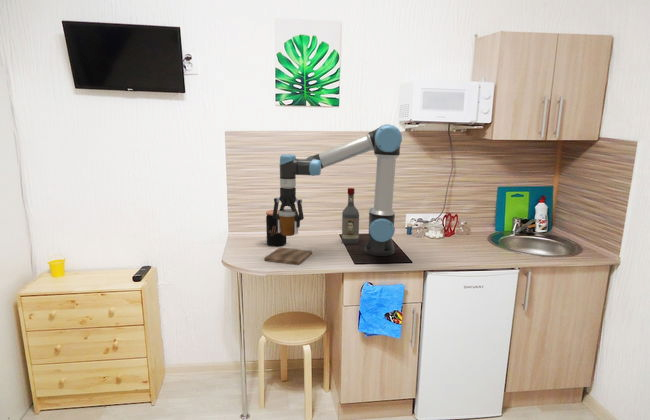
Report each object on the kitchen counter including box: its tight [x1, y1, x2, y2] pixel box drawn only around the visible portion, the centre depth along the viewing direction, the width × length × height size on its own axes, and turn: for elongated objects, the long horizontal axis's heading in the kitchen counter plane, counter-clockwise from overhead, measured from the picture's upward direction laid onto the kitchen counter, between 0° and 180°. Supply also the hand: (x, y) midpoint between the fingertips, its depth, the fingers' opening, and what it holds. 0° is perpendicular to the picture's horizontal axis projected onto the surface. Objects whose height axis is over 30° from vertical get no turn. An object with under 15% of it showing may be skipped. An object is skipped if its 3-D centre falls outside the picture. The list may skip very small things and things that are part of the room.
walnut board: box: [263, 246, 313, 266], centre depth 216 cm, size 18×18×2 cm
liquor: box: [341, 187, 360, 245], centre depth 240 cm, size 9×9×30 cm
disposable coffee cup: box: [278, 208, 298, 237], centre depth 213 cm, size 10×10×12 cm
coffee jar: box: [265, 209, 287, 247], centre depth 237 cm, size 11×11×18 cm
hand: (288, 232), depth 214 cm, fingers closed on disposable coffee cup, 8 cm apart
